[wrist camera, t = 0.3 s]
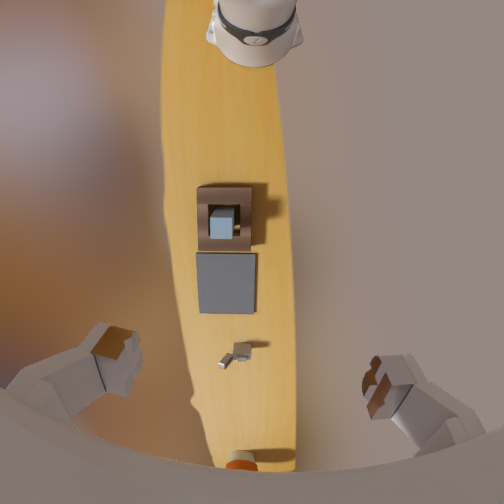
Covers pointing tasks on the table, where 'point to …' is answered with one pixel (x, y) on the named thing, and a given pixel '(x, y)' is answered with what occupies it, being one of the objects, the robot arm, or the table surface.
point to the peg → (222, 223)
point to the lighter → (236, 354)
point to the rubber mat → (226, 282)
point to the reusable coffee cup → (241, 461)
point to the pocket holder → (224, 196)
